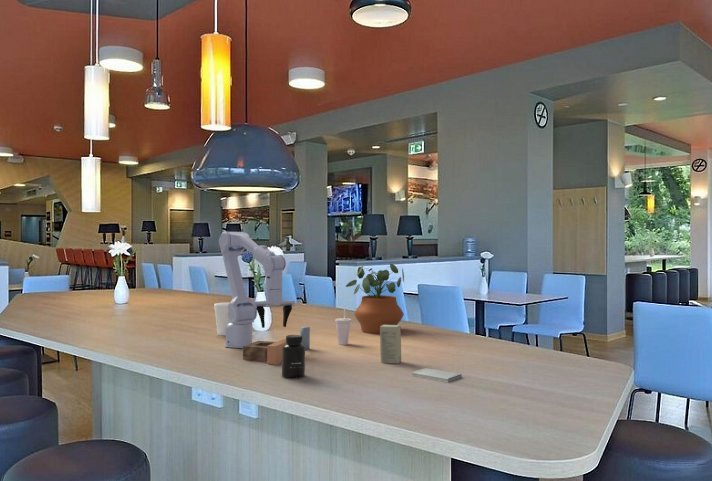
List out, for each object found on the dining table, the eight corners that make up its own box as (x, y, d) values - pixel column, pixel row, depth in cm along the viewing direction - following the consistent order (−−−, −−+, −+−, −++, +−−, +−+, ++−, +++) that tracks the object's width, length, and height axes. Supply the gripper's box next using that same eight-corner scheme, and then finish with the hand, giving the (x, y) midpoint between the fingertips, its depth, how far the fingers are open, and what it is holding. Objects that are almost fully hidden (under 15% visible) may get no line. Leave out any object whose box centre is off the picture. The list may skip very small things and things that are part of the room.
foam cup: (241, 333, 244) (241, 303, 244) (225, 336, 236) (225, 305, 236) (225, 331, 249) (225, 302, 249) (209, 334, 241) (209, 304, 241)
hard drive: (461, 373, 169) (426, 367, 177) (447, 378, 163) (411, 371, 171) (461, 379, 169) (426, 372, 177) (447, 384, 163) (411, 377, 171)
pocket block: (242, 359, 192) (242, 346, 192) (258, 353, 202) (258, 340, 202) (272, 361, 188) (272, 348, 188) (286, 355, 199) (286, 342, 199)
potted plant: (385, 336, 238) (385, 265, 238) (333, 330, 255) (333, 263, 255) (413, 330, 257) (413, 263, 257) (362, 324, 274) (363, 262, 274)
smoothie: (349, 345, 218) (349, 309, 218) (333, 345, 219) (333, 308, 219) (352, 343, 224) (353, 307, 224) (336, 342, 225) (337, 307, 225)
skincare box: (401, 361, 190) (401, 325, 190) (398, 364, 186) (398, 326, 186) (383, 360, 192) (383, 323, 192) (379, 362, 188) (379, 325, 188)
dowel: (298, 349, 210) (298, 327, 210) (302, 347, 213) (302, 326, 213) (307, 350, 209) (307, 328, 209) (311, 348, 212) (311, 326, 212)
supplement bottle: (295, 380, 164) (295, 338, 164) (277, 377, 168) (277, 336, 168) (309, 375, 170) (309, 335, 170) (291, 372, 174) (291, 333, 174)
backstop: (267, 364, 185) (267, 345, 185) (290, 353, 202) (291, 336, 202) (275, 364, 184) (275, 346, 184) (298, 354, 201) (298, 337, 201)
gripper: (255, 290, 197) (255, 329, 197) (296, 289, 202) (296, 327, 202) (252, 288, 204) (252, 326, 204) (292, 287, 208) (292, 324, 208)
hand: (273, 327), depth 203 cm, fingers open, 7 cm apart
